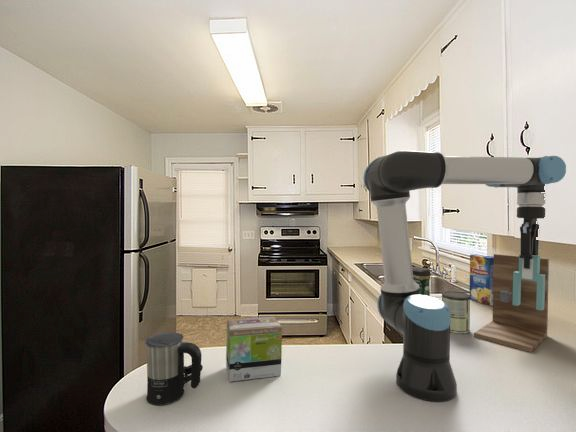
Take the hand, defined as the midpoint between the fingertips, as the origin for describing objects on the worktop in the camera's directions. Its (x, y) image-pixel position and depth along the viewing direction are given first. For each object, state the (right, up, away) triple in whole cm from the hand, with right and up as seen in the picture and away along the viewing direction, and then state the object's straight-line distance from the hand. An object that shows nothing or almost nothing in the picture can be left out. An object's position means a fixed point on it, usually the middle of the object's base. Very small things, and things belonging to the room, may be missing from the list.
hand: (528, 277), depth 108 cm
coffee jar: (-12, -25, +60) cm, 66 cm away
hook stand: (+6, -25, +17) cm, 31 cm away
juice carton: (+24, -25, +65) cm, 73 cm away
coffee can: (-12, -26, +25) cm, 37 cm away
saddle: (0, -10, 0) cm, 10 cm away
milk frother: (-109, -26, -20) cm, 114 cm away
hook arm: (+6, -11, +17) cm, 21 cm away
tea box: (-89, -26, -11) cm, 94 cm away
